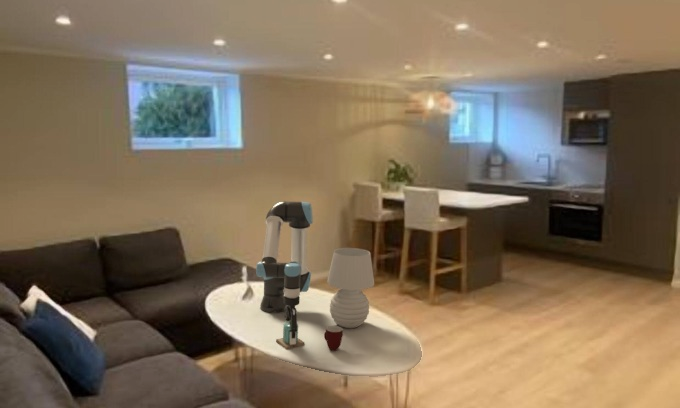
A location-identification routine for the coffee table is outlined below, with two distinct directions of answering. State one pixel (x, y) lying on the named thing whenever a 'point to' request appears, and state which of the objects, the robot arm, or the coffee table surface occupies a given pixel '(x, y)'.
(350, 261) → the table lamp
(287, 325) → the cap
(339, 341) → the mug
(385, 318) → the coffee table surface
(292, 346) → the post base
